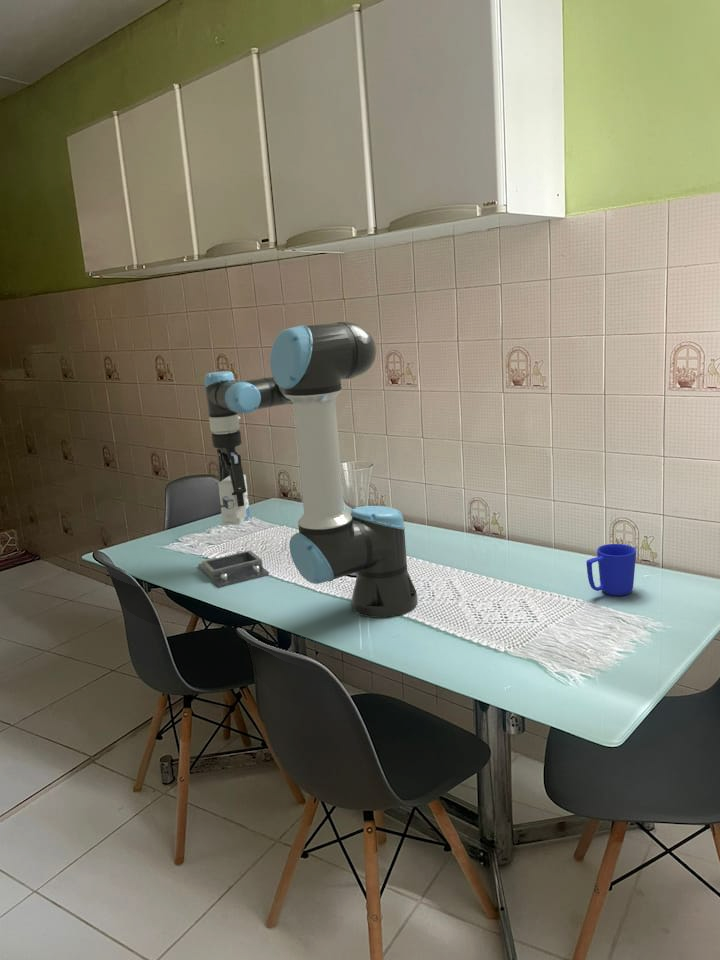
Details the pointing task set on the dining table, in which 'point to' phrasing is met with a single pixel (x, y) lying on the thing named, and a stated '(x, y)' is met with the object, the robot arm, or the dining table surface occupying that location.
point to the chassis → (233, 568)
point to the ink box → (230, 502)
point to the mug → (614, 569)
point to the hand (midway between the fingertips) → (235, 512)
